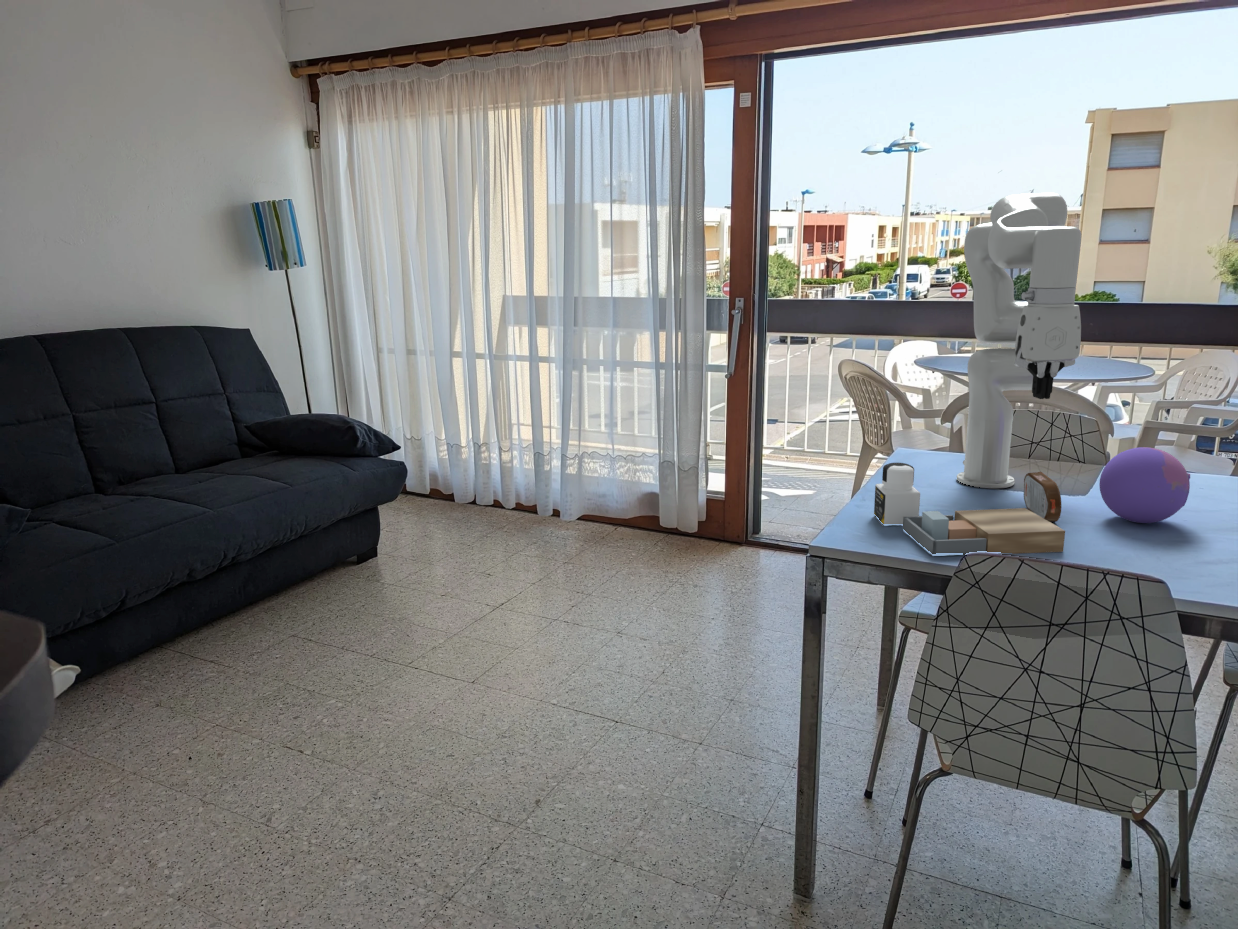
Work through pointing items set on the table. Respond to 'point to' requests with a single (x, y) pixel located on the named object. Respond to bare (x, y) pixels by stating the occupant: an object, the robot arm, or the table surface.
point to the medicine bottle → (896, 494)
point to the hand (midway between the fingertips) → (1041, 397)
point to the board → (1014, 530)
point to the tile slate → (935, 525)
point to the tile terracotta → (961, 530)
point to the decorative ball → (1144, 485)
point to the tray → (941, 546)
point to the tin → (1042, 496)
